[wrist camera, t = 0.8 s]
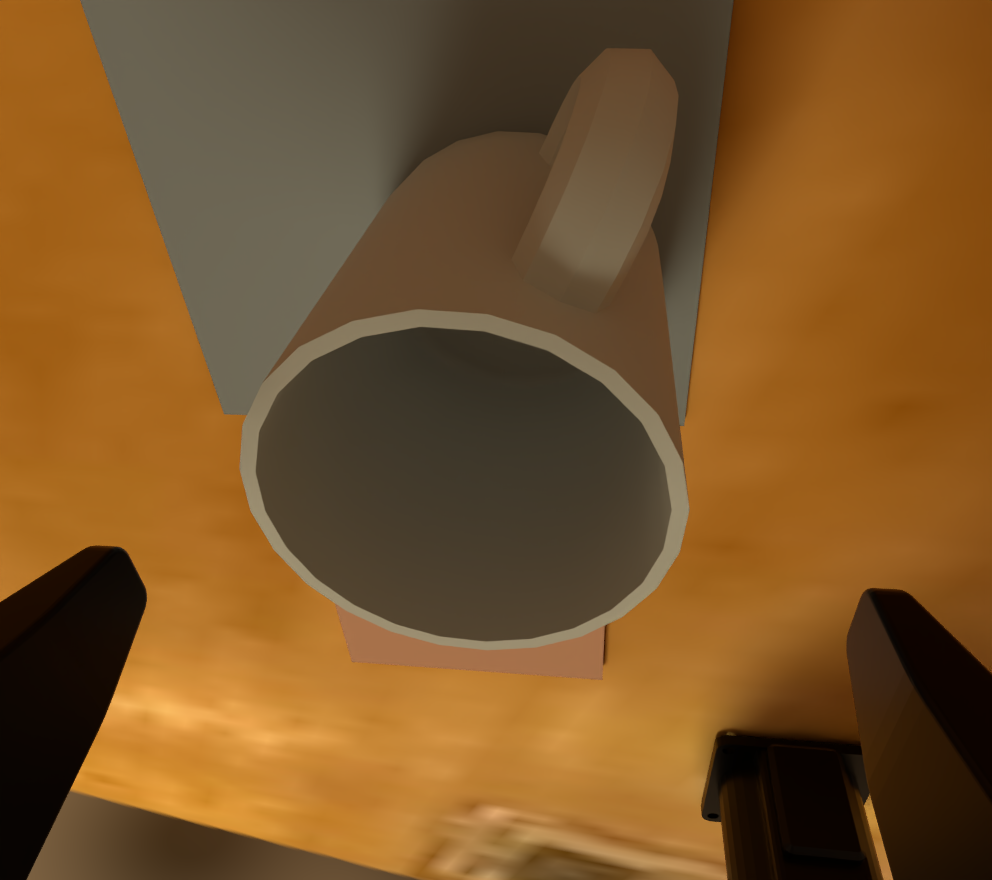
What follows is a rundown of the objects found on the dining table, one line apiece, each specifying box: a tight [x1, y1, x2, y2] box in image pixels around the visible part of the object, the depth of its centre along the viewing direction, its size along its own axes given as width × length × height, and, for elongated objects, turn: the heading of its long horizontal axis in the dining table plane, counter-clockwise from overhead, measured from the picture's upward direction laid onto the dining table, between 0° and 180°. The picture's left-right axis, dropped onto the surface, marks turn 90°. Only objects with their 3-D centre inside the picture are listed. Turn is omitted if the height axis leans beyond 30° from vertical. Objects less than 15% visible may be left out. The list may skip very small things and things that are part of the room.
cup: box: [240, 48, 689, 650], centre depth 15 cm, size 7×10×9 cm
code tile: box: [80, 0, 734, 426], centre depth 19 cm, size 12×14×1 cm
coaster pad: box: [335, 604, 605, 680], centre depth 26 cm, size 11×10×1 cm
